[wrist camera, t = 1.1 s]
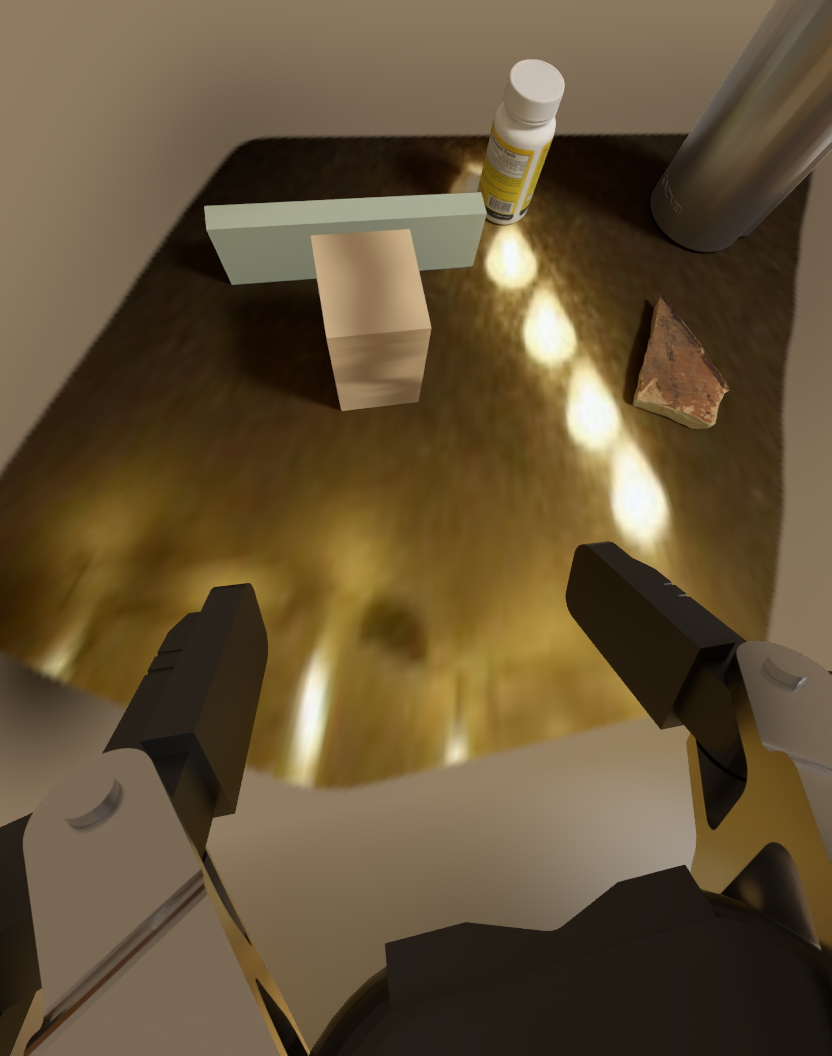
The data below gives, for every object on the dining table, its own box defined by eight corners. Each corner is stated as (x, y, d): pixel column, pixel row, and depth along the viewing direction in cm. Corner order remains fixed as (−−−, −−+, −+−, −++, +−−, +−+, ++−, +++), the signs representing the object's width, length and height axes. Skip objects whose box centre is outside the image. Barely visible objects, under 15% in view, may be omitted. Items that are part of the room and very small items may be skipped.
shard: (650, 306, 34) (664, 290, 32) (728, 337, 34) (747, 322, 32) (623, 407, 32) (637, 395, 30) (707, 439, 32) (726, 429, 30)
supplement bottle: (512, 179, 35) (552, 49, 27) (535, 219, 34) (583, 97, 26) (466, 191, 34) (493, 60, 26) (488, 232, 34) (523, 111, 25)
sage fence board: (467, 247, 33) (481, 192, 29) (472, 266, 33) (486, 213, 28) (229, 263, 30) (204, 206, 26) (232, 284, 30) (206, 229, 26)
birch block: (402, 324, 31) (409, 229, 23) (418, 401, 30) (431, 328, 22) (328, 331, 30) (310, 235, 22) (341, 411, 29) (326, 338, 21)
